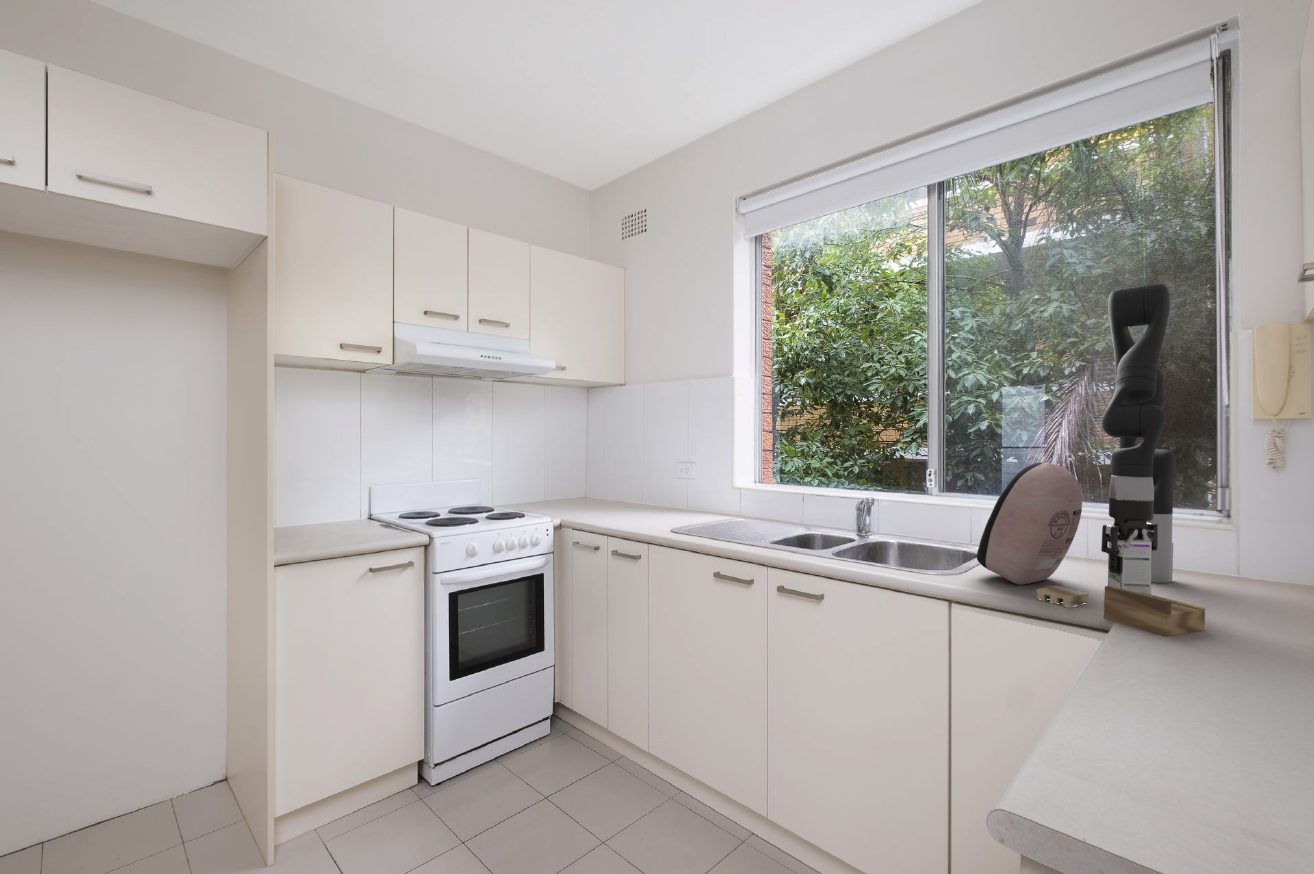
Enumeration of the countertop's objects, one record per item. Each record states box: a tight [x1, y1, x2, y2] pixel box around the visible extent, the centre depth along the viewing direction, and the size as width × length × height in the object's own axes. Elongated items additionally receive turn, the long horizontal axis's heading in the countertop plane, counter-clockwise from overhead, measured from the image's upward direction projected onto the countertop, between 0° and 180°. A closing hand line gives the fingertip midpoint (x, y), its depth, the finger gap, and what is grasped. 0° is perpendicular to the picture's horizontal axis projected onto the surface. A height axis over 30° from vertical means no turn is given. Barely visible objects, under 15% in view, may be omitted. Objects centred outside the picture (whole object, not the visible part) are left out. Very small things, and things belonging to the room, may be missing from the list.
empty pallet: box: [1036, 585, 1089, 609], centre depth 129 cm, size 7×7×2 cm
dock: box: [1103, 585, 1206, 637], centre depth 115 cm, size 11×11×6 cm
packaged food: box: [976, 461, 1083, 586], centre depth 145 cm, size 22×20×30 cm
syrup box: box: [1107, 539, 1152, 595], centre depth 127 cm, size 6×6×14 cm
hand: (1129, 571), depth 127 cm, fingers closed on syrup box, 8 cm apart
